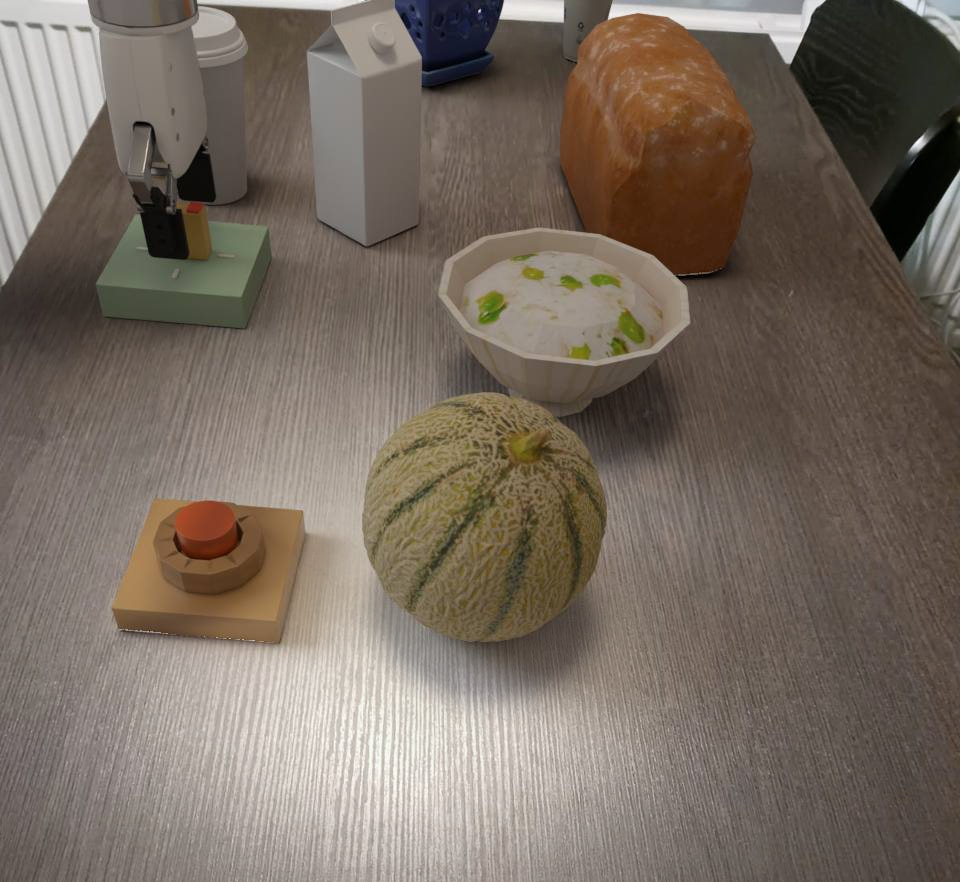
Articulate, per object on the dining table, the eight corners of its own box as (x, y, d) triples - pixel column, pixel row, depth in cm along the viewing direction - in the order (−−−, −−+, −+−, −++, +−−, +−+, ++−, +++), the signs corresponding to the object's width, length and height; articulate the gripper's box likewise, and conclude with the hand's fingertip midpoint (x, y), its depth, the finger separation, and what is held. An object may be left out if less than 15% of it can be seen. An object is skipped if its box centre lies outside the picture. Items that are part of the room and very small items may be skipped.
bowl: (634, 494, 72) (663, 380, 64) (395, 425, 75) (395, 308, 67) (689, 358, 84) (719, 248, 76) (481, 304, 87) (489, 193, 79)
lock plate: (103, 316, 82) (94, 282, 79) (142, 245, 89) (135, 212, 87) (245, 329, 82) (241, 295, 80) (271, 257, 90) (268, 224, 87)
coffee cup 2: (617, 59, 127) (631, -30, 120) (583, 71, 124) (596, -19, 116) (577, 43, 130) (588, -45, 123) (543, 54, 127) (552, -35, 119)
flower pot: (355, 63, 121) (352, -50, 112) (436, 42, 127) (439, -67, 118) (425, 100, 115) (427, -16, 106) (505, 76, 121) (514, -35, 112)
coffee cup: (169, 167, 100) (140, 0, 88) (264, 168, 101) (247, 4, 89) (160, 211, 94) (128, 39, 82) (261, 213, 95) (242, 43, 83)
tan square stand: (118, 631, 60) (103, 587, 57) (160, 521, 66) (149, 476, 63) (279, 644, 60) (273, 601, 57) (305, 533, 67) (301, 489, 64)
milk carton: (316, 220, 95) (302, -3, 80) (370, 198, 98) (365, -19, 84) (366, 249, 92) (361, 23, 77) (419, 225, 95) (423, 5, 81)
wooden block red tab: (158, 256, 83) (149, 207, 80) (164, 245, 84) (154, 197, 81) (207, 260, 83) (200, 212, 80) (212, 250, 84) (205, 201, 81)
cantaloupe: (383, 511, 69) (382, 323, 57) (589, 537, 68) (628, 353, 57) (343, 674, 59) (331, 487, 48) (582, 704, 59) (627, 523, 47)
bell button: (173, 558, 59) (167, 537, 58) (187, 518, 62) (182, 497, 60) (231, 563, 60) (228, 542, 58) (243, 523, 62) (240, 502, 60)
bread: (596, 280, 91) (626, 102, 79) (550, 155, 108) (569, -7, 96) (736, 279, 93) (786, 106, 81) (670, 157, 109) (704, -2, 97)
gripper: (123, -48, 74) (166, 177, 87) (48, 34, 63) (110, 277, 76) (221, -40, 74) (249, 183, 87) (163, 43, 63) (205, 285, 76)
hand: (184, 227), depth 82 cm, fingers open, 9 cm apart
